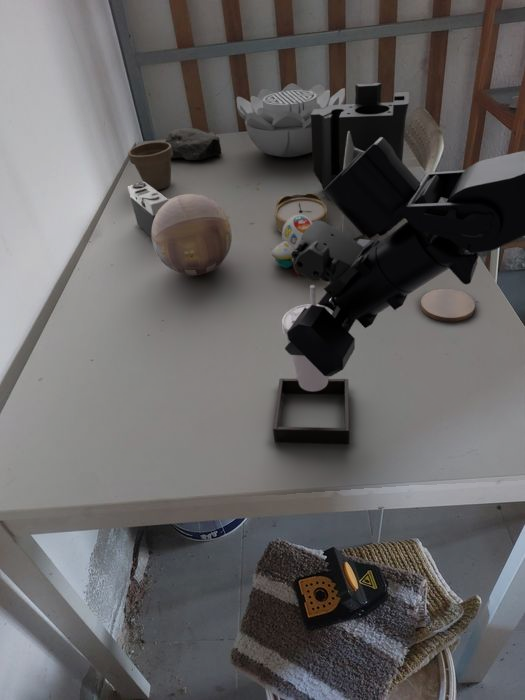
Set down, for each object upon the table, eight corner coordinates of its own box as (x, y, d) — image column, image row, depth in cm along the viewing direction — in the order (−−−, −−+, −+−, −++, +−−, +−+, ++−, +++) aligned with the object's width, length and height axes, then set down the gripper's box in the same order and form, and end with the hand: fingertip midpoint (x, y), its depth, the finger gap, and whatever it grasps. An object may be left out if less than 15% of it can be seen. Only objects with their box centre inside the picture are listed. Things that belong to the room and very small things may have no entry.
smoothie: (341, 397, 62) (339, 300, 54) (288, 400, 63) (277, 305, 54) (336, 363, 67) (334, 269, 59) (287, 366, 68) (278, 274, 59)
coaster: (469, 292, 87) (469, 288, 87) (479, 321, 81) (480, 317, 81) (417, 293, 89) (418, 289, 88) (423, 322, 82) (424, 318, 82)
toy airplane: (284, 248, 88) (258, 211, 99) (285, 290, 94) (261, 250, 105) (355, 232, 91) (322, 197, 102) (352, 274, 97) (321, 236, 108)
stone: (156, 157, 151) (157, 122, 150) (166, 165, 159) (167, 131, 158) (216, 158, 148) (218, 122, 147) (223, 166, 157) (225, 132, 156)
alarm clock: (276, 227, 107) (271, 187, 117) (278, 246, 111) (273, 206, 121) (330, 221, 107) (321, 181, 116) (330, 240, 110) (321, 200, 120)
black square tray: (348, 392, 72) (348, 378, 70) (349, 444, 65) (349, 430, 63) (280, 391, 73) (279, 378, 72) (274, 442, 66) (272, 429, 64)
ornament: (248, 255, 105) (239, 183, 96) (216, 295, 94) (202, 218, 85) (184, 248, 110) (169, 179, 101) (146, 285, 100) (126, 211, 90)
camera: (193, 235, 114) (184, 191, 108) (159, 247, 112) (148, 203, 105) (168, 215, 124) (159, 174, 118) (136, 225, 121) (125, 184, 115)
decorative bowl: (363, 158, 141) (365, 99, 131) (257, 178, 137) (251, 118, 128) (327, 129, 164) (326, 76, 154) (236, 145, 160) (229, 92, 151)
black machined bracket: (401, 199, 118) (409, 95, 104) (312, 199, 123) (308, 100, 109) (402, 179, 127) (410, 81, 113) (319, 180, 132) (316, 86, 118)
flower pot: (130, 187, 141) (120, 149, 135) (166, 174, 146) (158, 138, 140) (149, 198, 134) (139, 159, 127) (186, 184, 138) (179, 146, 132)
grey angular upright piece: (381, 243, 103) (386, 144, 91) (341, 242, 105) (341, 145, 93) (386, 208, 115) (391, 117, 103) (351, 208, 117) (351, 118, 105)
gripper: (371, 168, 55) (285, 248, 66) (300, 251, 42) (210, 331, 54) (439, 244, 57) (344, 310, 68) (390, 345, 44) (284, 404, 56)
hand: (299, 334), depth 61 cm, fingers closed on smoothie, 6 cm apart
